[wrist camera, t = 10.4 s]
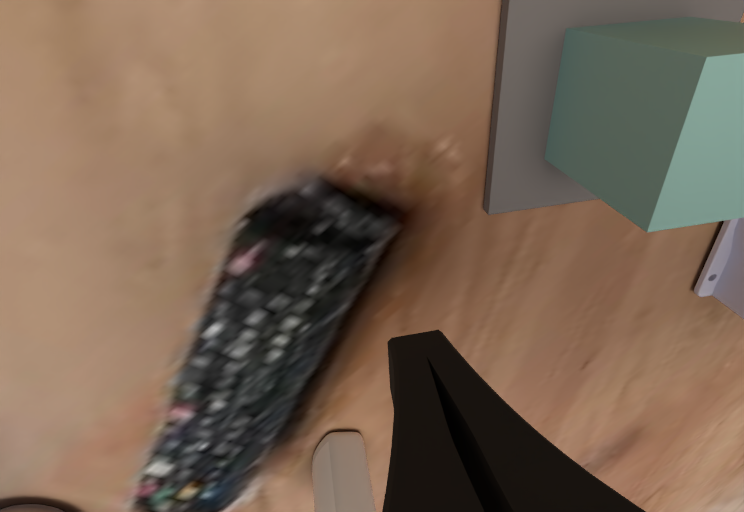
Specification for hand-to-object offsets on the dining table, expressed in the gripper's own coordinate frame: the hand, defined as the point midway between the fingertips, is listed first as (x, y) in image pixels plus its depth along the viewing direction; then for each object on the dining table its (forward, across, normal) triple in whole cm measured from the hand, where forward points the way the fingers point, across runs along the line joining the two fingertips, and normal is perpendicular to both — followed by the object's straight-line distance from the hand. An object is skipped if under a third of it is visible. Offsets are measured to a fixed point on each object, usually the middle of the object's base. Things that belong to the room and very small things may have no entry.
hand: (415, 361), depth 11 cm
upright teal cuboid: (+9, -11, -4) cm, 15 cm away
